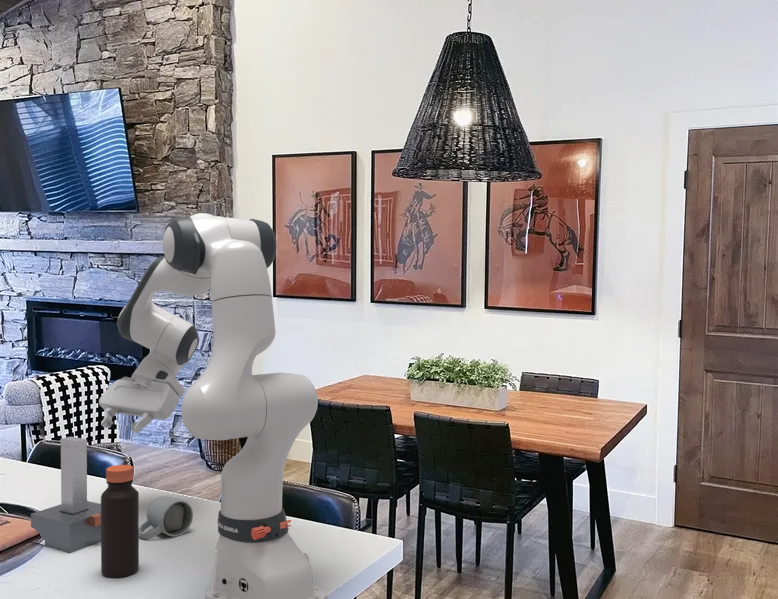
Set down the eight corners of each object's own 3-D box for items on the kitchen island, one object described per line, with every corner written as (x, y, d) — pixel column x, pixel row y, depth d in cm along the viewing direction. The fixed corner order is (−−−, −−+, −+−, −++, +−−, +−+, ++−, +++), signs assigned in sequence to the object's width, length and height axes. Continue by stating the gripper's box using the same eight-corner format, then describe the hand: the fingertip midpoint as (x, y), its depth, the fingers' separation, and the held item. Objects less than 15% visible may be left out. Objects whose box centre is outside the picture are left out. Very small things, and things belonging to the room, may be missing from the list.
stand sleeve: (121, 536, 167) (121, 508, 166) (75, 554, 156) (74, 524, 156) (78, 525, 173) (78, 497, 173) (31, 541, 163) (30, 512, 162)
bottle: (122, 561, 153) (122, 461, 152) (146, 569, 149) (146, 466, 148) (93, 573, 147) (92, 469, 146) (117, 581, 143) (117, 474, 142)
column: (89, 538, 165) (89, 438, 164) (75, 543, 162) (74, 442, 161) (73, 533, 168) (72, 435, 167) (58, 538, 165) (58, 439, 164)
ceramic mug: (173, 522, 176) (173, 489, 175) (194, 531, 170) (193, 497, 170) (130, 535, 168) (129, 500, 167) (150, 545, 162) (149, 509, 162)
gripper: (113, 368, 186) (79, 415, 178) (176, 375, 176) (144, 425, 168) (127, 384, 190) (95, 431, 182) (190, 392, 180) (159, 442, 172)
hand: (119, 428), depth 175 cm, fingers open, 8 cm apart
